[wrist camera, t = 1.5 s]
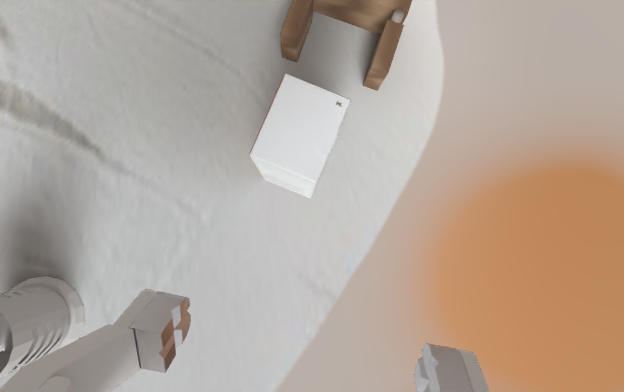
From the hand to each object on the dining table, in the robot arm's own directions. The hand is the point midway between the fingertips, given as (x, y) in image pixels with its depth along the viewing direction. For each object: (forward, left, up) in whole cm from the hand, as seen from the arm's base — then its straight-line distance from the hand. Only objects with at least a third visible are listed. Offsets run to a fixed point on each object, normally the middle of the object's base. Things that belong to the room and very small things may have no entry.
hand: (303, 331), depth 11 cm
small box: (-4, +12, -28) cm, 31 cm away
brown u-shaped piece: (-4, +28, -28) cm, 40 cm away
